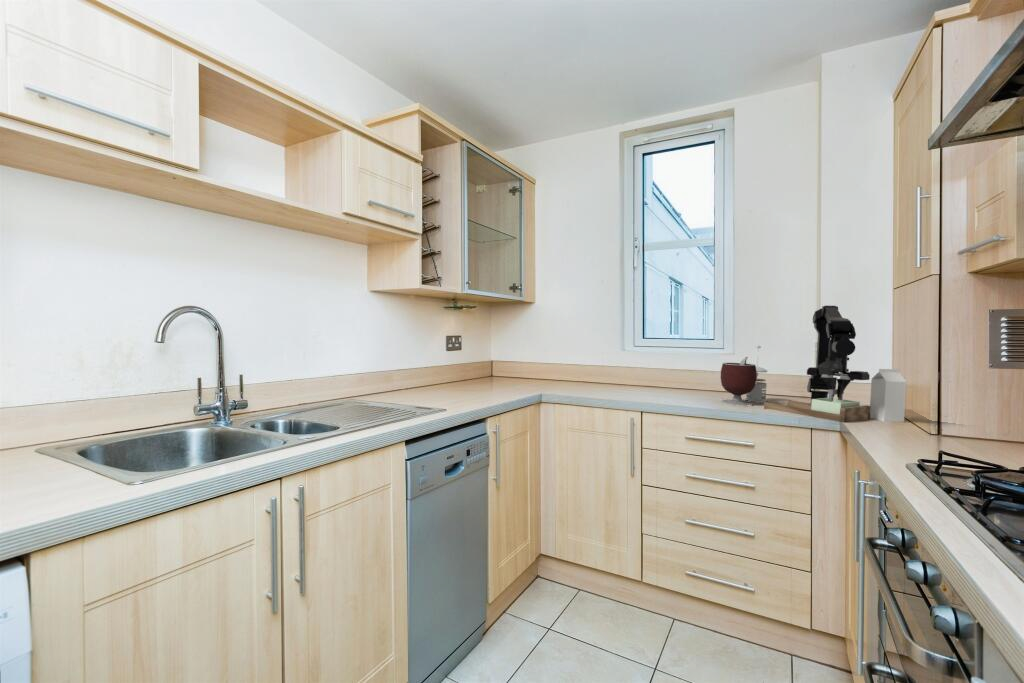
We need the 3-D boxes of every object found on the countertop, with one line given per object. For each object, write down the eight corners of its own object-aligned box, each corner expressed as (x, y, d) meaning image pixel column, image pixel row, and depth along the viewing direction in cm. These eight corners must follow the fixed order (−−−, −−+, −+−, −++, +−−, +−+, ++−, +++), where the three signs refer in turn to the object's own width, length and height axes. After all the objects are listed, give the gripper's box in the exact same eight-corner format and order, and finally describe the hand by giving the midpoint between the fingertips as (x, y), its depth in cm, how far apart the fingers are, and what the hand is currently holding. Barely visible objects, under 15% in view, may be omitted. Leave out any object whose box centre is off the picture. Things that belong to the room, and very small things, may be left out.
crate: (829, 413, 181) (831, 387, 180) (858, 418, 172) (860, 390, 171) (810, 415, 175) (812, 388, 175) (840, 420, 166) (841, 392, 166)
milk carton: (904, 424, 167) (907, 370, 167) (883, 423, 168) (886, 369, 167) (888, 420, 175) (891, 368, 174) (869, 419, 175) (871, 367, 174)
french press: (744, 401, 211) (747, 345, 210) (742, 397, 222) (744, 344, 221) (769, 403, 207) (772, 346, 206) (765, 399, 218) (768, 345, 217)
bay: (789, 407, 197) (790, 394, 197) (869, 421, 171) (870, 406, 170) (763, 409, 189) (764, 396, 189) (843, 424, 163) (844, 408, 163)
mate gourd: (747, 407, 194) (750, 358, 193) (713, 402, 204) (716, 356, 203) (761, 403, 205) (763, 357, 204) (728, 399, 215) (730, 355, 214)
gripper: (798, 352, 177) (796, 394, 178) (853, 356, 161) (851, 402, 161) (816, 352, 182) (814, 393, 183) (871, 356, 166) (869, 400, 166)
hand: (835, 397), depth 173 cm, fingers closed on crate, 2 cm apart
